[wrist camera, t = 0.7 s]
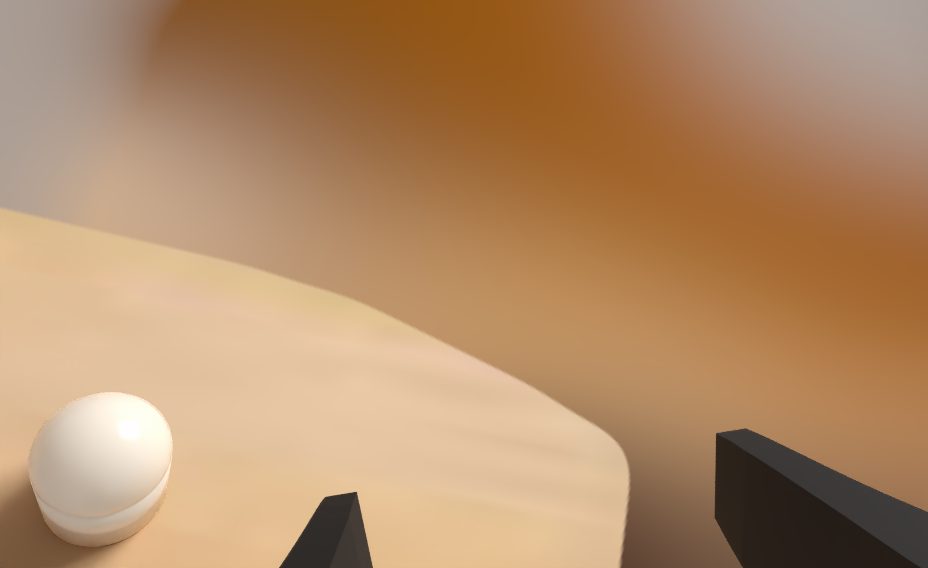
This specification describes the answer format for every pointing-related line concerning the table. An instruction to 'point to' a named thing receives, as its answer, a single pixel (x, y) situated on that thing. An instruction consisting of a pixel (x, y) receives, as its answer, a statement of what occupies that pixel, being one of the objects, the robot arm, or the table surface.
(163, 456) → the egg
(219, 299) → the table surface
